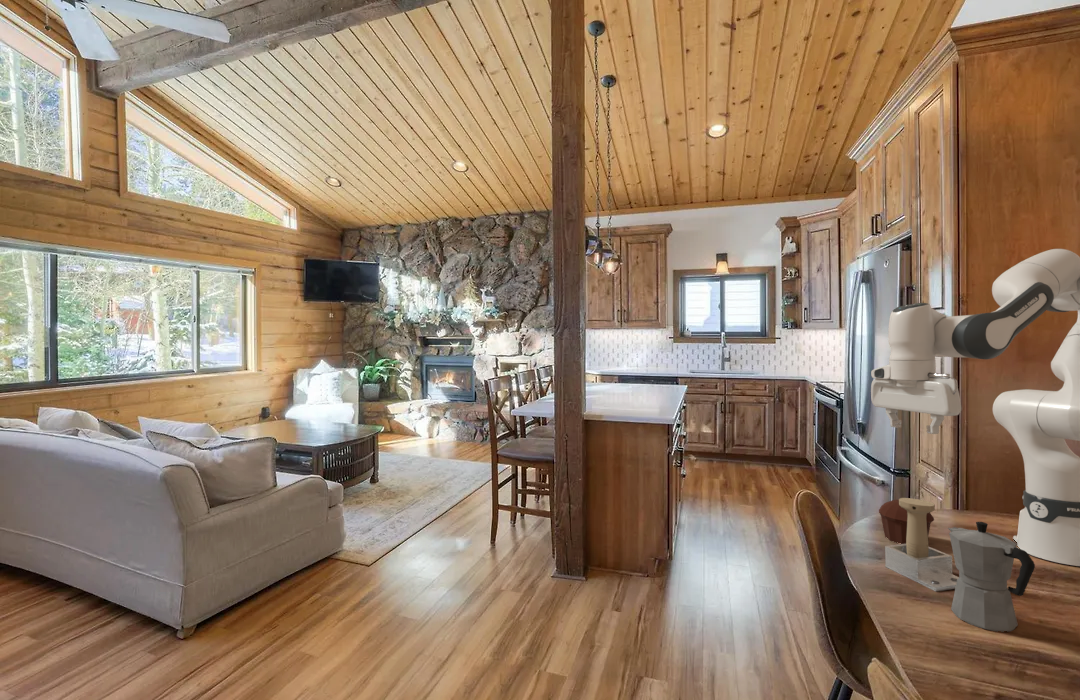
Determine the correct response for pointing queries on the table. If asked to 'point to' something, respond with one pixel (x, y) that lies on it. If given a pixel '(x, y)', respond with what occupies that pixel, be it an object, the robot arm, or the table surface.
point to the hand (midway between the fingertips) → (913, 430)
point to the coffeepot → (987, 577)
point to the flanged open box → (922, 567)
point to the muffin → (897, 521)
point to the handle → (917, 526)
